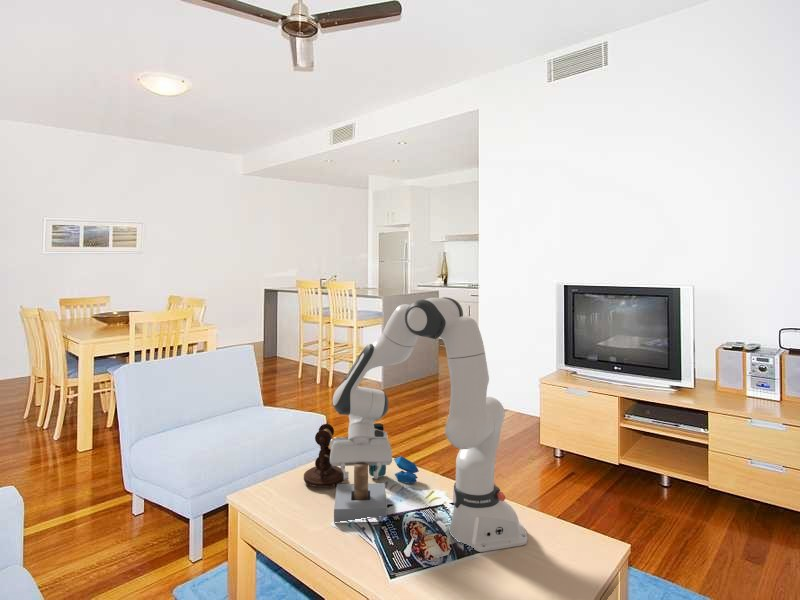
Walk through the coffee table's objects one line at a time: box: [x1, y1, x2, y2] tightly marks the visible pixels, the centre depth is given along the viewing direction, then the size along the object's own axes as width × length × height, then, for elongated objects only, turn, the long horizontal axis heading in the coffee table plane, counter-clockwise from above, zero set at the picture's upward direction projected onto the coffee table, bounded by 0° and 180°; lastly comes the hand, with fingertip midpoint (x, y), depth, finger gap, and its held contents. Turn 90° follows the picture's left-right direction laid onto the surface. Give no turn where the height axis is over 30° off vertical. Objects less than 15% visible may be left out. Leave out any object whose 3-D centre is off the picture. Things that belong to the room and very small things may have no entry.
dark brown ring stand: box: [303, 423, 345, 489], centre depth 169 cm, size 15×15×20 cm
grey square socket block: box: [333, 482, 388, 524], centre depth 151 cm, size 16×16×4 cm
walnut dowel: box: [353, 462, 369, 500], centre depth 151 cm, size 4×4×14 cm
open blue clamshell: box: [393, 456, 420, 484], centre depth 171 cm, size 7×8×11 cm
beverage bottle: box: [368, 422, 387, 478], centre depth 173 cm, size 6×7×20 cm
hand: (361, 478), depth 150 cm, fingers open, 8 cm apart
